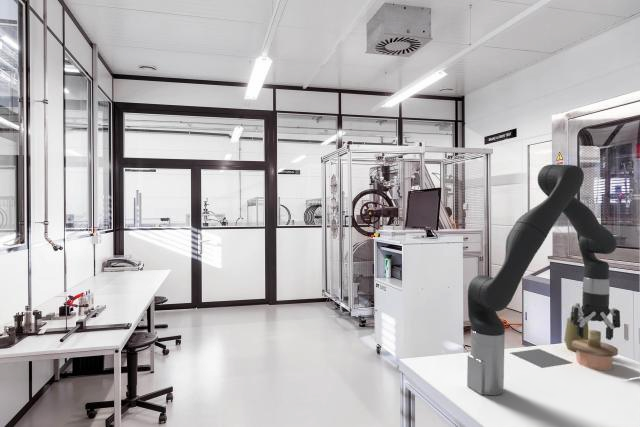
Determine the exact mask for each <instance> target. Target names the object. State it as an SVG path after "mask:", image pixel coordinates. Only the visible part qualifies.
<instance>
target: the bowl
mask: <svg viewBox="0 0 640 427" xmlns="http://www.w3.org/2000/svg"><path fill="white" fill-rule="evenodd" d="M575 353H576V359H575V360H576V362H577V363H578V365H580V366H582V367H585V368H588V369H593V370H597V371H610V370H612V369H613V362H614V360H613V358H614V356H612V357H604V356H596V355H591V354H586V353H583V352H580V351H578V350H577V351H576V352H575Z"/></svg>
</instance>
